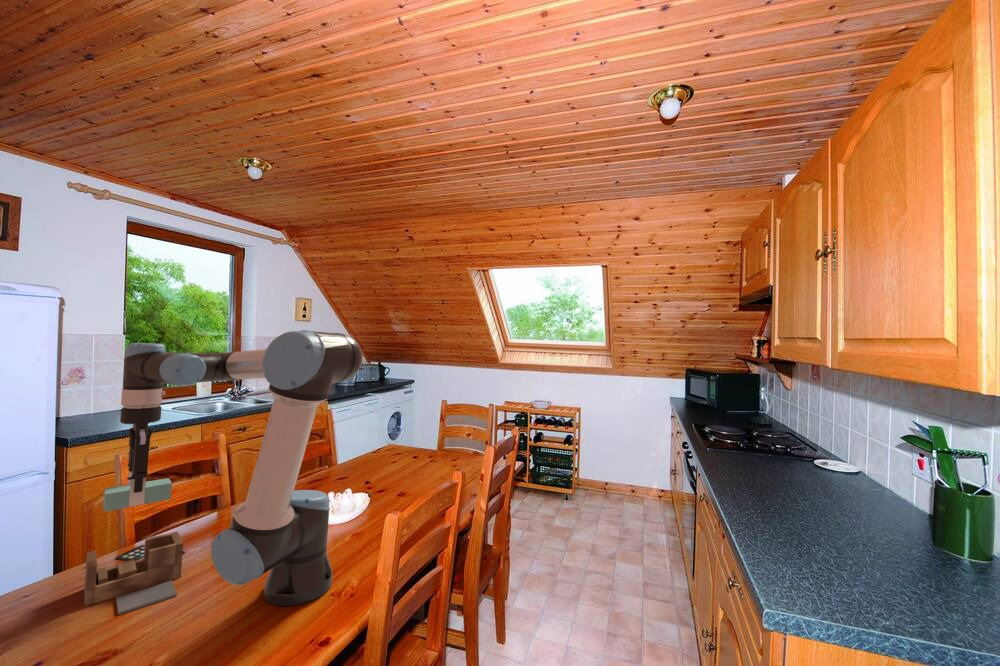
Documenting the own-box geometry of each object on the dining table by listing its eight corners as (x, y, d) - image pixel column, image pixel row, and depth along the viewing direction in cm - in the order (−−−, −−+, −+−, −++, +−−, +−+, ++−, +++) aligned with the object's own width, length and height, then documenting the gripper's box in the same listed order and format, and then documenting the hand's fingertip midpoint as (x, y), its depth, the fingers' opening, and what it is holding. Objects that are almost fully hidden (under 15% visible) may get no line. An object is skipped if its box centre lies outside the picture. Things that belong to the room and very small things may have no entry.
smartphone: (161, 565, 107) (113, 557, 109) (161, 568, 107) (113, 560, 109) (187, 551, 114) (141, 544, 116) (186, 553, 114) (141, 546, 116)
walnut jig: (175, 563, 108) (177, 531, 109) (180, 577, 102) (183, 543, 103) (84, 589, 96) (86, 552, 96) (84, 606, 90) (87, 567, 90)
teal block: (167, 493, 105) (168, 478, 106) (170, 499, 102) (171, 483, 102) (103, 505, 97) (104, 488, 97) (104, 511, 93) (105, 494, 93)
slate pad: (176, 596, 95) (176, 593, 95) (118, 615, 88) (118, 612, 88) (171, 582, 100) (171, 580, 100) (116, 599, 93) (116, 597, 93)
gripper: (167, 409, 96) (160, 508, 96) (156, 400, 109) (150, 488, 108) (124, 412, 91) (116, 517, 90) (118, 402, 103) (111, 494, 103)
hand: (135, 501), depth 99 cm, fingers closed on teal block, 5 cm apart
